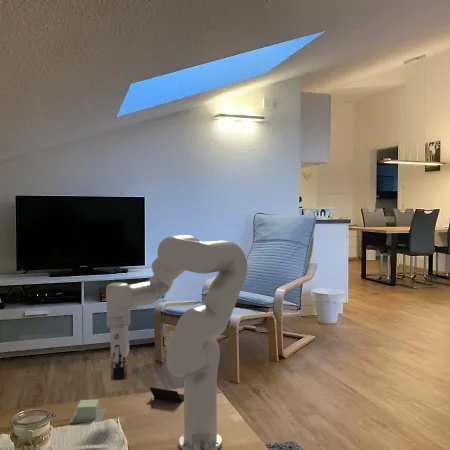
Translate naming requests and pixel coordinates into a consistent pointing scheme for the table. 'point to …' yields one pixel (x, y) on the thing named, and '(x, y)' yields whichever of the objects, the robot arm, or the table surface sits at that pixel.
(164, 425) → the table surface
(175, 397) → the handheld gaming console
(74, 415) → the board
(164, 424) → the table surface
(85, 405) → the sage base block
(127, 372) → the walnut cube
